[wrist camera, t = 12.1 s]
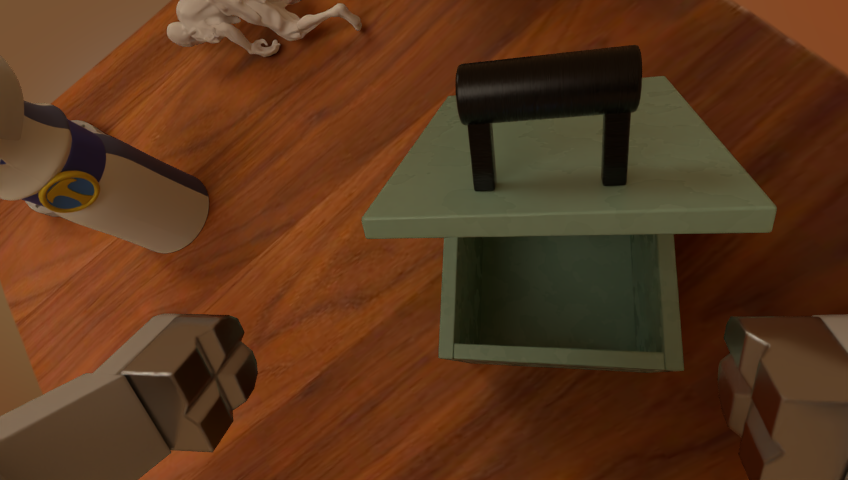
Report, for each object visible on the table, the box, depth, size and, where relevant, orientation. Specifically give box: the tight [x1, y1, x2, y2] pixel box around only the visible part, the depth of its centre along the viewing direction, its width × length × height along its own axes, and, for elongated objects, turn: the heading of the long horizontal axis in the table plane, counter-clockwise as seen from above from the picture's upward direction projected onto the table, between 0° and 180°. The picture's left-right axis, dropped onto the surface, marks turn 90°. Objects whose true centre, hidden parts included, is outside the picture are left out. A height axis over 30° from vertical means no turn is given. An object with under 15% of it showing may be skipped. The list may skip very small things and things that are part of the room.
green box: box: [438, 234, 684, 373], centre depth 30 cm, size 15×12×10 cm
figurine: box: [167, 0, 362, 57], centre depth 45 cm, size 7×8×18 cm
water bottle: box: [0, 56, 209, 253], centre depth 33 cm, size 8×8×25 cm
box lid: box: [362, 45, 777, 239], centre depth 20 cm, size 15×12×5 cm
